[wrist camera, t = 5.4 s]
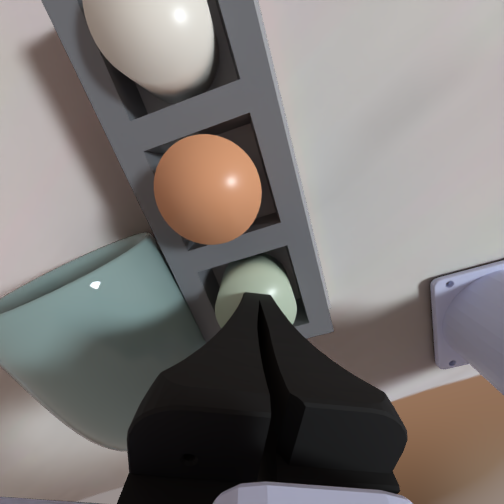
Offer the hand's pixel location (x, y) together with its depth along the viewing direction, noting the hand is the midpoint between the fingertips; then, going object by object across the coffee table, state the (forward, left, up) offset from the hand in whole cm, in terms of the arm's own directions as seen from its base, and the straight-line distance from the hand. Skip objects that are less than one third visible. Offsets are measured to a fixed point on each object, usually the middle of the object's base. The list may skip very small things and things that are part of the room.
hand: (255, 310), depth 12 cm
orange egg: (0, -6, -2) cm, 6 cm away
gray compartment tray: (0, -6, -4) cm, 7 cm away
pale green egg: (0, 0, -3) cm, 3 cm away
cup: (+7, +6, -1) cm, 9 cm away
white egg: (0, -12, -3) cm, 12 cm away
